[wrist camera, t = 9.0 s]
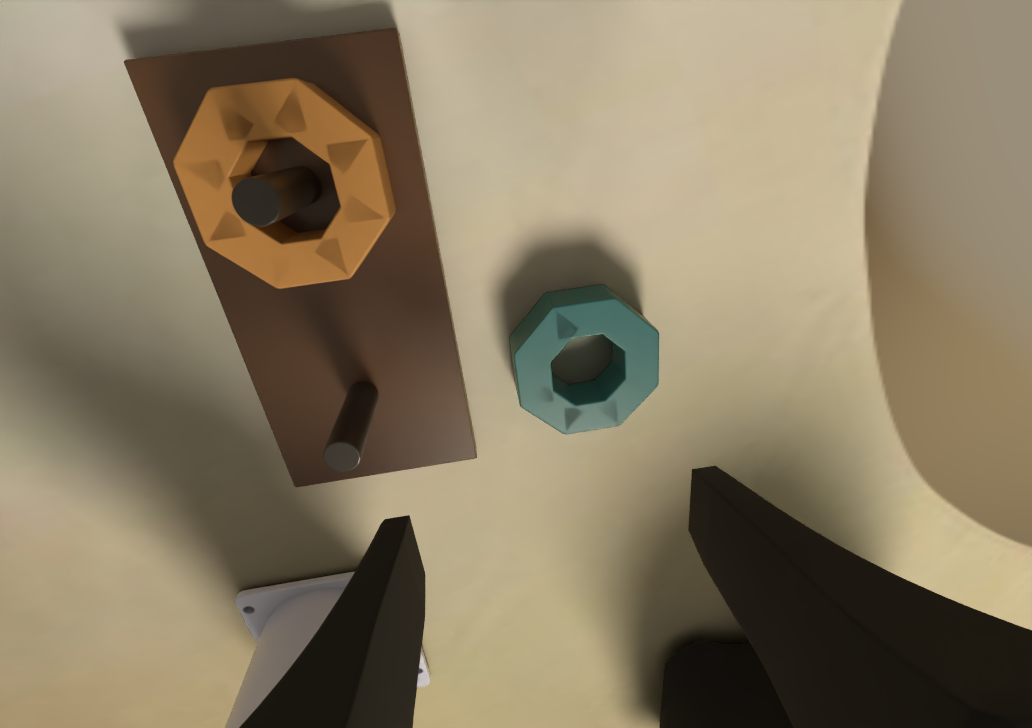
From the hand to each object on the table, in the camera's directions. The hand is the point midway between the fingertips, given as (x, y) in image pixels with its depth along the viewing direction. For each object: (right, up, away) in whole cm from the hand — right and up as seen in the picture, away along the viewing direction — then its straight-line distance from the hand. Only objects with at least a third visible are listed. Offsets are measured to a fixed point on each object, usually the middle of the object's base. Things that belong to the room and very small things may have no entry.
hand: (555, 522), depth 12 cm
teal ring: (+2, +5, +8) cm, 10 cm away
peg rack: (-8, +7, +6) cm, 12 cm away
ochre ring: (-8, +10, +4) cm, 13 cm away
